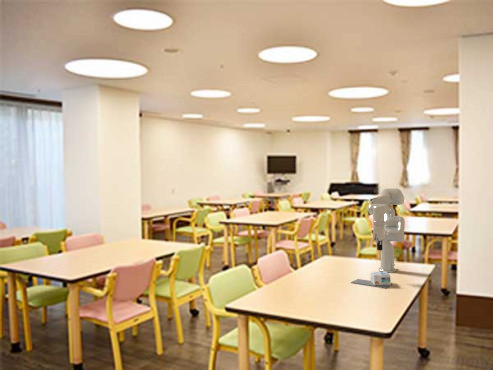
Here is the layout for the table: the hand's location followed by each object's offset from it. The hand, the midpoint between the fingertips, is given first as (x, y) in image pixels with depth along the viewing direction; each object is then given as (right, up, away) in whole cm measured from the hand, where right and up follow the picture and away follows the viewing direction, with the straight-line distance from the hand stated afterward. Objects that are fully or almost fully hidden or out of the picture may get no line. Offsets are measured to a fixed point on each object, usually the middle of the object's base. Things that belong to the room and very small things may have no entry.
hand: (379, 250), depth 286 cm
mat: (-9, -21, -11) cm, 25 cm away
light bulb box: (-3, -17, -7) cm, 18 cm away
